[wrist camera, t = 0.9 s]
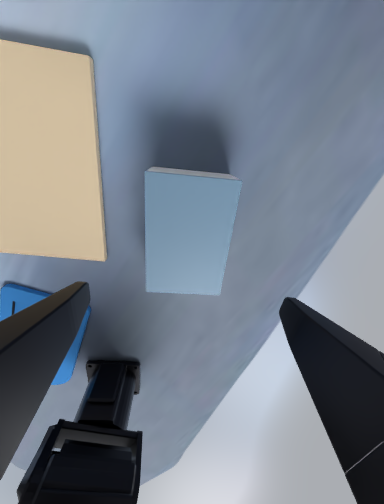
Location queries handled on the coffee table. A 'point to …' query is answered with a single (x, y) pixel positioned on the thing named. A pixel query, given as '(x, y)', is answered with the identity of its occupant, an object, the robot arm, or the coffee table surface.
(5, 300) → the handheld gaming device
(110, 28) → the coffee table surface
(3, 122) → the cork mat
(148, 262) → the card box
